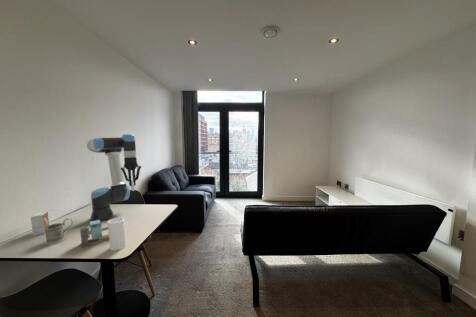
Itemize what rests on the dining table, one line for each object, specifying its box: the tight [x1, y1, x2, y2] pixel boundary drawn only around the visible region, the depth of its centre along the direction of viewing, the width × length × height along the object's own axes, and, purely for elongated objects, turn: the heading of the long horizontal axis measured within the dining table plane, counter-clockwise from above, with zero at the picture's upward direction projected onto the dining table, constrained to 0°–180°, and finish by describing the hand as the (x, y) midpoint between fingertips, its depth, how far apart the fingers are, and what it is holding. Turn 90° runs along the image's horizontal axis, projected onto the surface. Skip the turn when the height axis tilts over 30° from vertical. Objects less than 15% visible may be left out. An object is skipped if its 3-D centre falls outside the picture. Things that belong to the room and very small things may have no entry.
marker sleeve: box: [89, 220, 103, 240], centre depth 125 cm, size 7×5×9 cm
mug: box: [44, 217, 74, 246], centre depth 128 cm, size 14×10×12 cm
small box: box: [30, 211, 50, 237], centre depth 139 cm, size 8×6×13 cm
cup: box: [107, 217, 127, 251], centre depth 118 cm, size 8×8×16 cm
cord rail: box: [79, 225, 109, 248], centre depth 126 cm, size 7×19×10 cm, turn 130°
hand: (133, 190), depth 142 cm, fingers closed
